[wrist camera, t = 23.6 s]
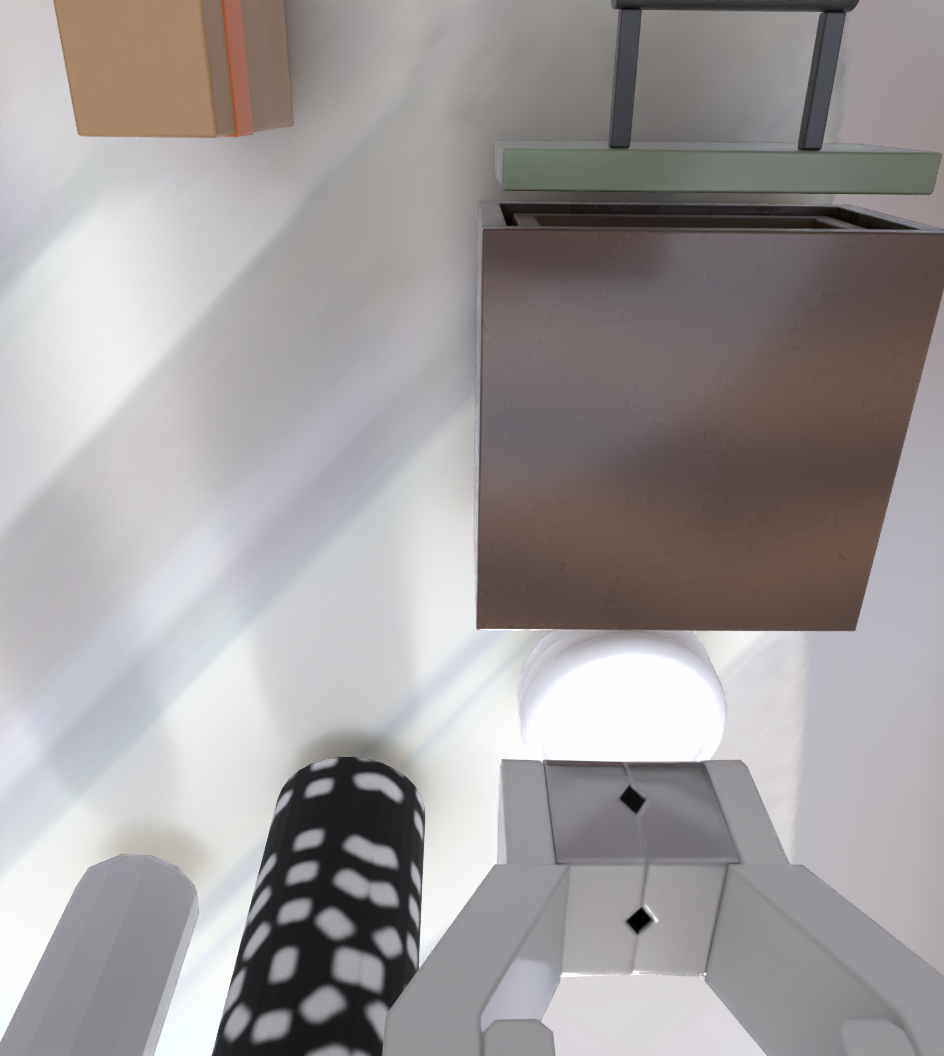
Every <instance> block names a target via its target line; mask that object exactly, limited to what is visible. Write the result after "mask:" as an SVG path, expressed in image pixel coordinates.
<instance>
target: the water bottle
mask: <svg viewBox="0 0 944 1056" xmlns="http://www.w3.org/2000/svg"><path fill="white" fill-rule="evenodd" d="M198 915H199V907H198V897H197V891H196V888H195V886H194V885H193V883H192V882H191V881H190V880H189V879H188V878H187V877H186V876H185V875H184V874H183V872H182V871H181V870H180V869H179V868H178V867H176V866H174V865H172V864H169V863H167V862H165V861H162V860H160V859H158V858H155V857H153V856H146V855H124V854H122V855H119V856H117V857H114V858H111V859H109V860H106V861H104V862H101V863H98V864H96V865H94V866H91V867H89V868H88V870H87V871H86V873H85V874H84V876H83V877H82V879H81V880H80V882H79V883H78V885H77V886H76V888H75V890H74V892H73V894H72V896H71V898H70V900H69V902H68V904H67V906H66V908H65V911H64V913H63V915H62V917H61V919H60V921H59V923H58V925H57V927H56V929H55V931H54V933H53V935H52V937H51V939H50V941H49V943H48V945H47V948H46V950H45V952H44V954H43V956H42V958H41V960H40V962H39V964H38V966H37V968H36V970H35V972H34V974H33V976H32V978H31V980H30V983H29V985H28V987H27V989H26V991H25V993H24V995H23V997H22V999H21V1001H20V1003H19V1005H18V1007H17V1009H16V1011H15V1013H14V1015H13V1017H12V1020H11V1022H10V1024H9V1026H8V1028H7V1030H6V1032H5V1034H4V1036H3V1038H2V1040H1V1042H0V1056H154V1053H155V1050H156V1047H157V1044H158V1040H159V1037H160V1034H161V1031H162V1028H163V1025H164V1022H165V1019H166V1015H167V1012H168V1009H169V1006H170V1003H171V1000H172V997H173V993H174V990H175V987H176V984H177V981H178V978H179V975H180V971H181V968H182V965H183V962H184V959H185V956H186V953H187V949H188V946H189V943H190V940H191V937H192V934H193V931H194V927H195V924H196V921H197V918H198Z"/></svg>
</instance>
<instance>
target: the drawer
mask: <svg viewBox="0 0 944 1056" xmlns="http://www.w3.org/2000/svg"><path fill="white" fill-rule="evenodd" d="M858 2H859V0H611V3H612V8H613V9H619V10H620V11H619V13H618V26H617V39H616V52H615V66H614V79H613V92H612V105H611V118H610V131H609V141H564V140H497V141H496V143H495V174H496V176H497V179H498V181H499V183H500V185H501V187H502V190H504V191H596V192H697V193H799V194H901V195H902V194H904V195H908V194H909V195H912V194H913V195H930V194H932V193H933V190H934V186H935V182H936V178H937V174H938V170H939V166H940V161H941V157H942V155H941V153H939V152H929V151H920V150H911V149H901V148H892V147H883V146H873V145H864V144H847V143H823V138H824V132H825V127H826V121H827V116H828V110H829V105H830V99H831V94H832V88H833V83H834V77H835V72H836V66H837V61H838V55H839V50H840V44H841V38H842V33H843V27H844V22H845V16H846V12H850V11H852V10H853V9H854V8H855V7H856V5H857V4H858ZM641 10H698V11H776V12H824V13H821V14H820V17H819V22H818V28H817V34H816V40H815V46H814V52H813V58H812V64H811V70H810V76H809V82H808V88H807V93H806V99H805V105H804V111H803V117H802V123H801V129H800V135H799V141H798V143H753V142H658V141H630V140H631V129H632V117H633V106H634V94H635V83H636V71H637V60H638V48H639V36H640V25H641V13H642V11H641ZM512 226H554V227H662V228H770V229H866V228H863V227H859V226H856V225H853V224H850V223H847V222H844V221H840V220H837V219H833V218H831V217H828V216H759V215H654V214H548V213H515V214H513V225H512Z"/></svg>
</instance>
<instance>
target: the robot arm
mask: <svg viewBox="0 0 944 1056" xmlns="http://www.w3.org/2000/svg"><path fill="white" fill-rule="evenodd" d="M631 974H632V975H663V976H699V977H705V982H706V983H707V984H708V985H709V986H710V988H711V989H712V990H713V991H714V992H715V994H716V995H717V996H718V997H719V998H720V1000H721V1001H722V1002H723V1003H724V1005H725V1006H726V1007H727V1008H728V1009H729V1011H730V1012H731V1013H732V1014H733V1015H734V1017H735V1018H736V1019H737V1020H738V1021H739V1023H740V1024H741V1025H742V1026H743V1027H744V1029H745V1030H746V1031H747V1032H748V1033H749V1035H750V1036H751V1037H752V1038H753V1039H754V1041H755V1042H756V1043H757V1044H758V1045H759V1047H760V1048H761V1049H762V1050H763V1052H764V1053H765V1054H766V1055H767V1056H944V976H943V975H942V974H941V973H939V972H938V971H937V970H936V969H934V968H933V967H932V966H930V965H929V964H928V963H927V962H925V961H924V960H923V959H922V958H920V957H919V956H918V955H916V954H915V953H914V952H913V951H911V950H910V949H909V948H907V947H906V946H905V945H904V944H902V943H901V942H900V941H899V940H897V939H896V938H895V937H894V936H892V935H891V934H890V933H889V932H887V931H886V930H885V929H883V928H882V927H881V926H880V925H878V924H877V923H876V922H875V921H873V920H872V919H871V918H869V917H868V916H867V915H866V914H864V913H863V912H861V911H860V910H859V909H858V908H857V907H856V906H854V905H853V904H852V903H850V902H849V901H848V900H847V899H845V898H844V897H843V896H842V895H840V894H839V893H838V892H836V891H835V890H834V889H833V888H831V887H830V886H829V885H827V884H826V883H825V882H824V881H822V880H821V879H820V878H819V877H817V876H816V875H815V874H814V873H812V872H811V871H810V870H809V869H807V868H806V867H805V866H803V865H790V863H789V861H788V859H787V857H786V854H785V852H784V850H783V847H782V845H781V843H780V841H779V838H778V836H777V834H776V831H775V829H774V827H773V825H772V822H771V820H770V818H769V815H768V813H767V811H766V809H765V806H764V804H763V802H762V799H761V797H760V795H759V793H758V790H757V788H756V786H755V783H754V781H753V779H752V777H751V774H750V772H749V770H748V767H747V765H745V764H744V763H743V762H742V761H741V760H705V761H700V762H698V761H627V762H612V761H574V760H543V761H542V762H541V761H540V760H507V759H502V761H501V765H500V784H499V810H498V857H497V864H496V865H494V866H493V868H492V869H491V870H490V872H489V873H488V874H487V876H486V877H485V879H484V880H483V881H482V883H481V884H480V886H479V887H478V888H477V890H476V891H475V892H474V894H473V895H472V897H471V898H470V899H469V901H468V902H467V904H466V905H465V906H464V908H463V909H462V910H461V912H460V913H459V915H458V916H457V917H456V919H455V920H454V921H453V923H452V924H451V926H450V927H449V928H448V930H447V931H446V933H445V934H444V935H443V937H442V938H441V939H440V941H439V942H438V944H437V945H436V946H435V948H434V949H433V951H432V952H431V953H430V955H429V956H428V957H427V959H426V960H425V962H424V963H423V964H422V966H421V967H420V968H419V970H418V971H417V973H416V974H415V975H414V977H413V978H412V980H411V981H410V982H409V984H408V985H407V986H406V988H405V989H404V991H403V992H402V993H401V995H400V996H399V998H398V999H397V1000H396V1002H395V1003H394V1004H393V1006H392V1007H391V1009H390V1010H389V1011H388V1013H387V1014H386V1018H385V1029H384V1040H383V1051H382V1056H555V1048H554V1038H553V1032H552V1031H551V1030H550V1029H549V1028H547V1027H546V1026H545V1025H544V1024H542V1023H541V1020H542V1018H543V1016H544V1014H545V1012H546V1010H547V1007H548V1005H549V1003H550V1001H551V999H552V997H553V995H554V993H555V991H556V989H557V987H558V985H559V983H560V977H568V976H601V975H631Z"/></svg>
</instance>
